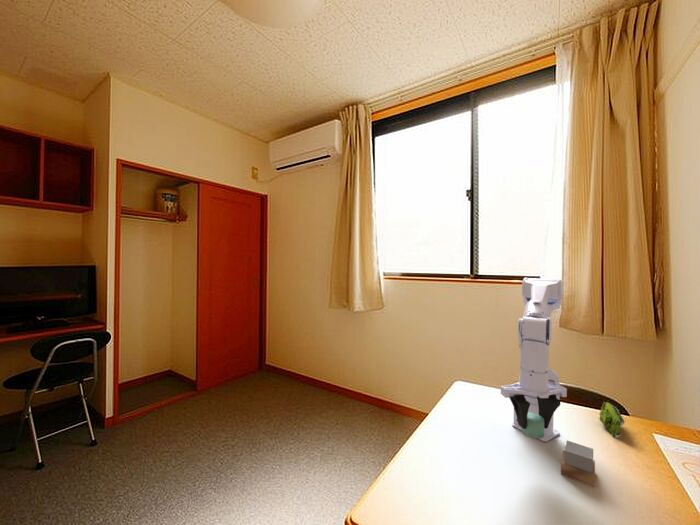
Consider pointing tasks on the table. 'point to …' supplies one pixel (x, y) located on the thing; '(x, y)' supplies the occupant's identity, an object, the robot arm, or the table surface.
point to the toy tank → (611, 419)
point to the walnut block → (577, 473)
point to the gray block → (579, 456)
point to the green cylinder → (534, 426)
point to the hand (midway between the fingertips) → (532, 426)
